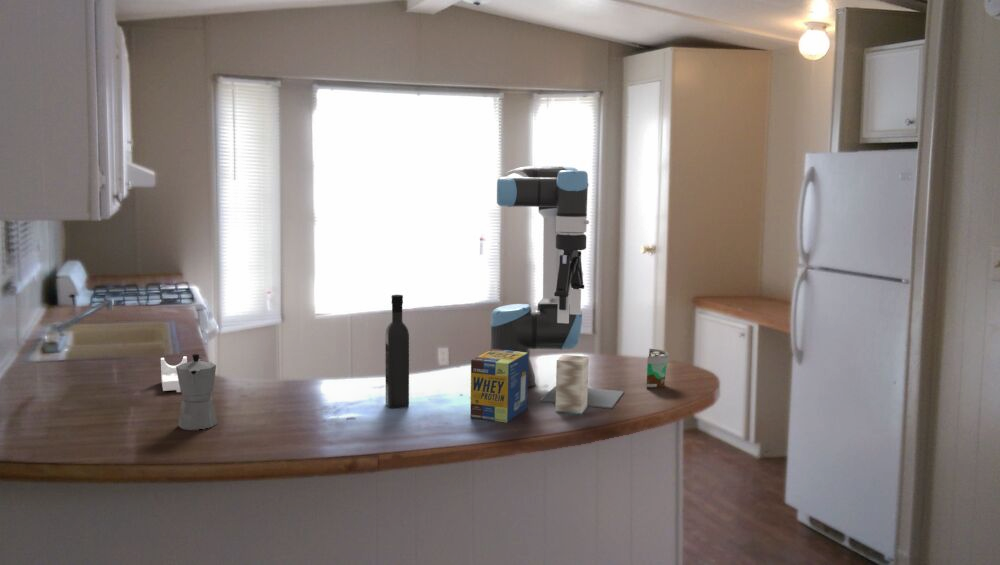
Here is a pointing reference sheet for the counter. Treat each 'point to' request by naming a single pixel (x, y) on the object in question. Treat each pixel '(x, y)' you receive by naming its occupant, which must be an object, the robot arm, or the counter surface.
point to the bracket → (170, 375)
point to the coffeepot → (196, 394)
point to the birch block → (571, 384)
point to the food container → (656, 368)
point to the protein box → (499, 385)
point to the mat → (591, 397)
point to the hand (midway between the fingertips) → (569, 318)
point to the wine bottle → (397, 358)
